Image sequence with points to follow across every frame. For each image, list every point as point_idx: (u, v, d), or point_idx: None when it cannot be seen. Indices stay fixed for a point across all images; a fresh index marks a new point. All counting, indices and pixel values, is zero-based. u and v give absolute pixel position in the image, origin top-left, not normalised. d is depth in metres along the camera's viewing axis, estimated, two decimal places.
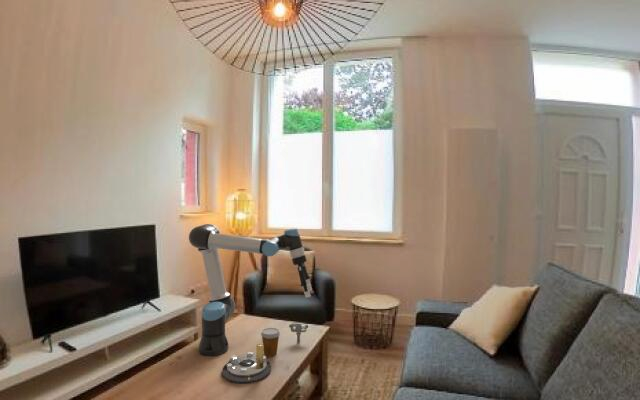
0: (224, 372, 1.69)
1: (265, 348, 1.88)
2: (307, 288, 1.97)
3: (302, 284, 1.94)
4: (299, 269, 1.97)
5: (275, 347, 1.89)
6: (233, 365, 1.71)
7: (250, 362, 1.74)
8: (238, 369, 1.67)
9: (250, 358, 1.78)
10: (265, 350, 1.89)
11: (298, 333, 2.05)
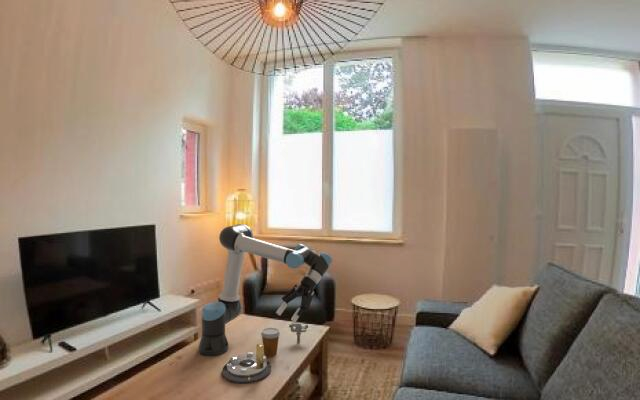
0: (224, 372, 1.69)
1: (265, 348, 1.88)
2: None
3: (306, 308, 1.74)
4: (311, 293, 1.79)
5: (275, 347, 1.89)
6: (233, 365, 1.71)
7: (250, 362, 1.74)
8: (238, 369, 1.67)
9: (250, 358, 1.78)
10: (265, 350, 1.89)
11: (298, 333, 2.05)
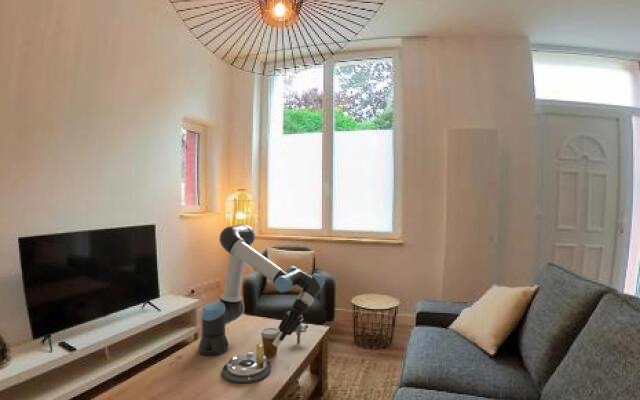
0: (224, 372, 1.69)
1: (265, 348, 1.88)
2: None
3: (288, 332, 1.74)
4: (300, 320, 1.76)
5: (275, 347, 1.89)
6: (233, 365, 1.71)
7: (250, 362, 1.74)
8: (238, 369, 1.67)
9: (250, 358, 1.78)
10: (265, 350, 1.89)
11: (298, 333, 2.05)
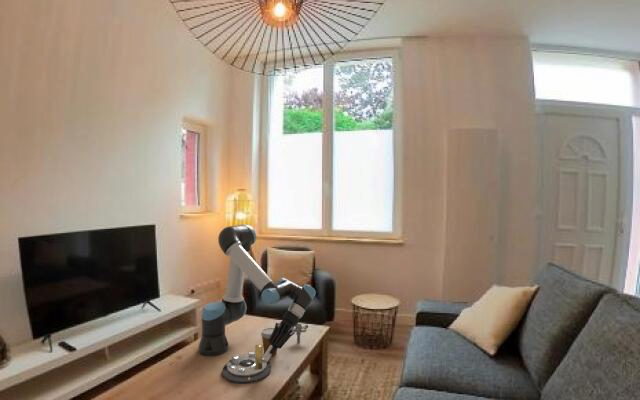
0: (224, 372, 1.69)
1: (265, 348, 1.88)
2: None
3: (278, 346, 1.71)
4: (290, 333, 1.72)
5: None
6: (233, 364, 1.72)
7: (250, 362, 1.74)
8: (237, 369, 1.68)
9: (251, 358, 1.78)
10: (265, 350, 1.89)
11: (298, 333, 2.05)
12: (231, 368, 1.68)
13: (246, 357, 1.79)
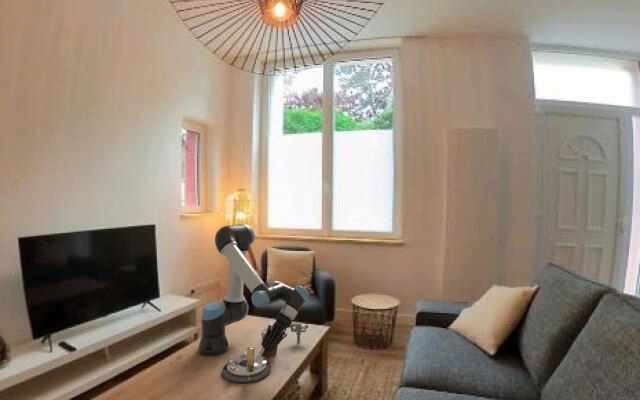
0: (224, 372, 1.69)
1: None
2: None
3: (270, 348, 1.68)
4: (282, 335, 1.69)
5: None
6: (234, 361, 1.75)
7: None
8: (232, 366, 1.70)
9: None
10: None
11: (298, 333, 2.05)
12: (229, 364, 1.72)
13: None
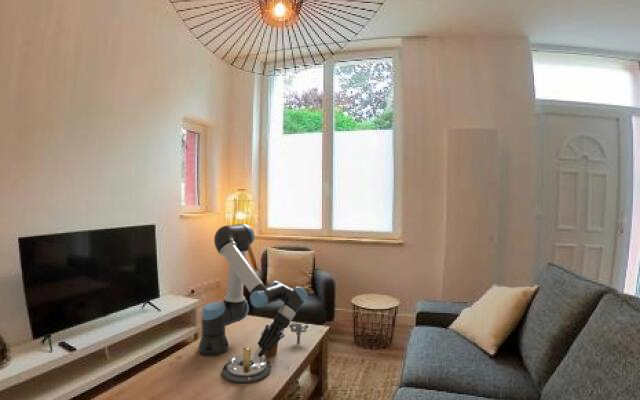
0: (224, 372, 1.69)
1: None
2: None
3: (267, 348, 1.67)
4: (280, 335, 1.69)
5: (275, 347, 1.89)
6: (236, 360, 1.76)
7: None
8: (232, 364, 1.72)
9: None
10: None
11: (298, 333, 2.05)
12: (230, 362, 1.74)
13: None
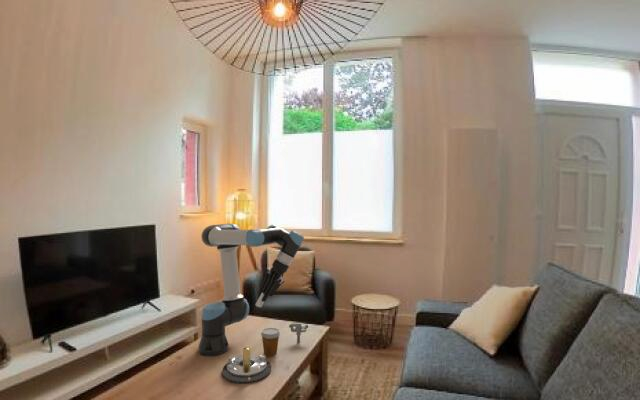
0: (224, 372, 1.69)
1: (265, 348, 1.88)
2: None
3: (269, 294, 1.75)
4: (279, 282, 1.74)
5: (275, 347, 1.89)
6: (236, 360, 1.76)
7: None
8: (232, 364, 1.72)
9: (257, 360, 1.76)
10: (265, 350, 1.89)
11: (298, 333, 2.05)
12: (230, 362, 1.74)
13: (255, 358, 1.78)
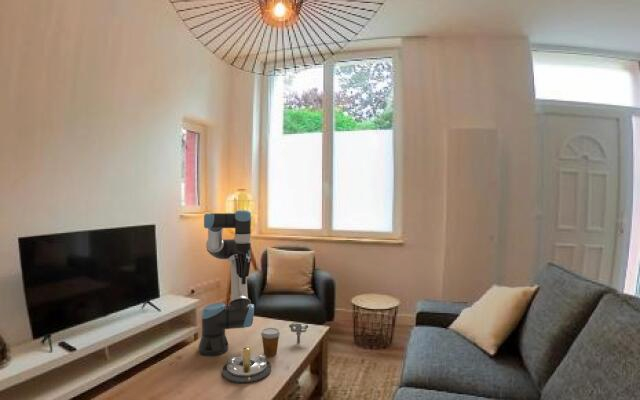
0: (224, 372, 1.69)
1: (265, 348, 1.88)
2: None
3: (245, 276, 1.81)
4: (247, 261, 1.79)
5: (275, 347, 1.89)
6: (236, 360, 1.76)
7: None
8: (232, 364, 1.72)
9: (257, 360, 1.76)
10: (265, 350, 1.89)
11: (298, 333, 2.05)
12: (230, 362, 1.74)
13: (255, 358, 1.78)
